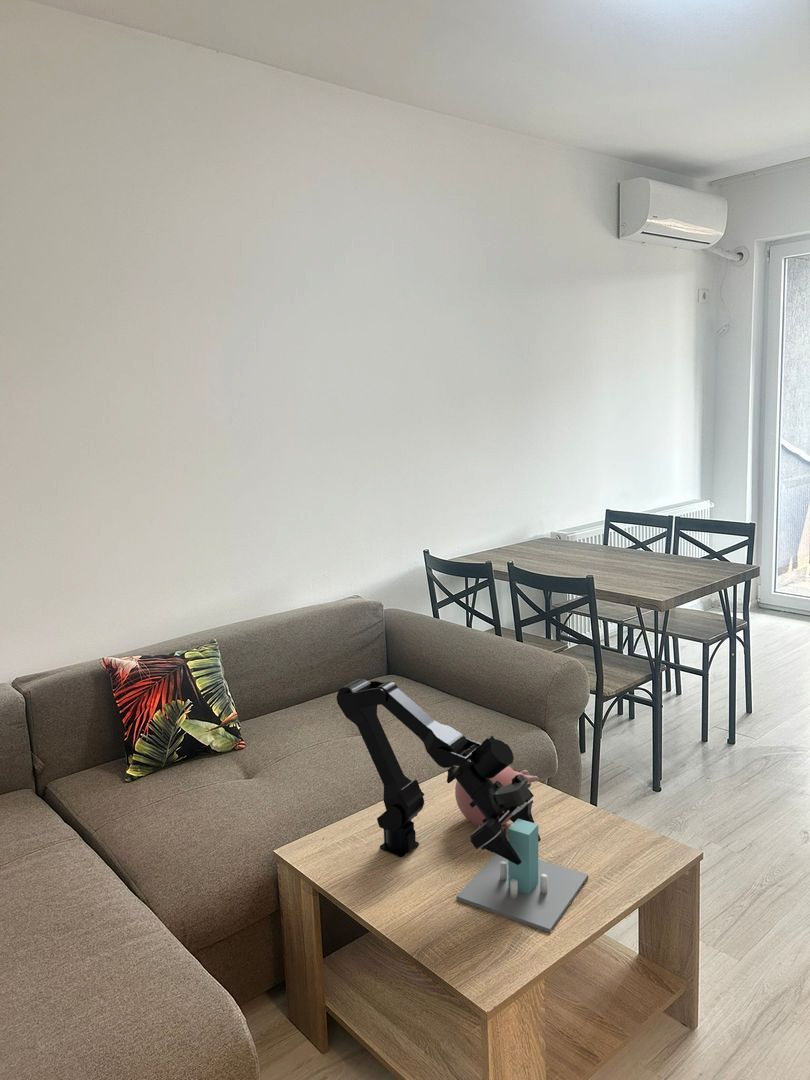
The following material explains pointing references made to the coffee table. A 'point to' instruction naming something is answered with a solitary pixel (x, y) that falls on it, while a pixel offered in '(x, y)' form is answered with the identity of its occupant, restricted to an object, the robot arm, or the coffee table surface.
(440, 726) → the robot arm
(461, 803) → the balloon
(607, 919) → the coffee table surface
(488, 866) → the peg plate
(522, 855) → the teal block
